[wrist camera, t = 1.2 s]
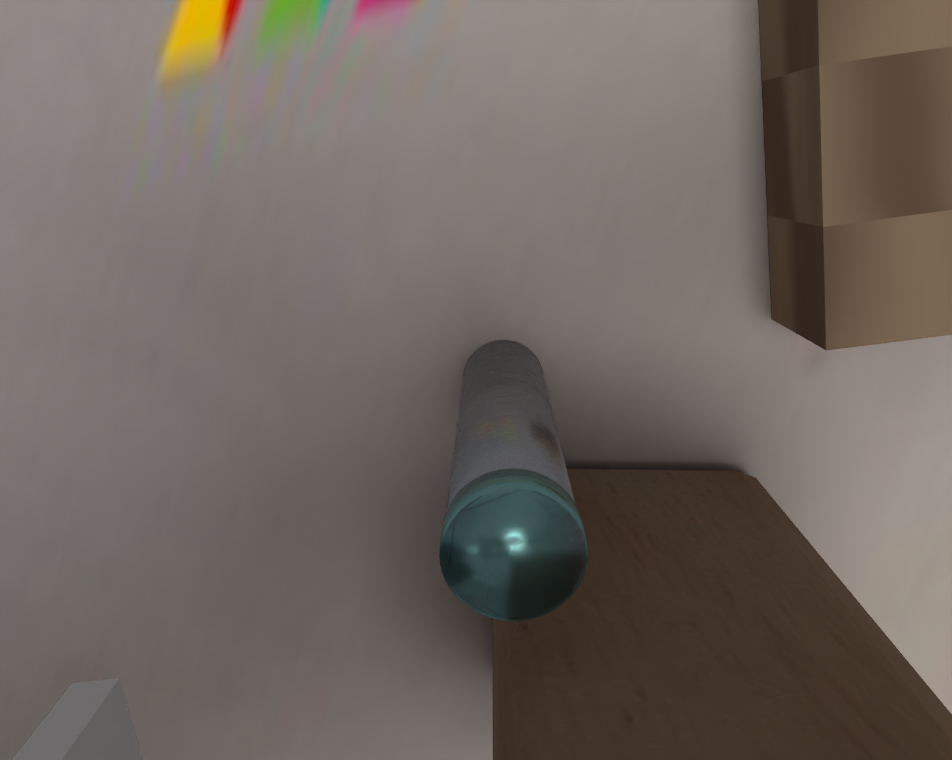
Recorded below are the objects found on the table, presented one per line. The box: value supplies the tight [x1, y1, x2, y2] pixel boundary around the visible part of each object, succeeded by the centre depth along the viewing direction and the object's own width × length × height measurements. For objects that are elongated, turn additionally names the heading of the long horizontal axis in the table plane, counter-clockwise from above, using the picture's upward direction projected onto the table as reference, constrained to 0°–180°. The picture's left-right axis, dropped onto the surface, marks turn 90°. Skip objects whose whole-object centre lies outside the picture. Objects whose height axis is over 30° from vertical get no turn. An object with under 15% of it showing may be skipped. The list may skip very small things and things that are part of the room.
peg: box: [440, 340, 588, 621], centre depth 24 cm, size 3×3×14 cm
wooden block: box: [493, 469, 952, 760], centre depth 23 cm, size 10×10×20 cm
